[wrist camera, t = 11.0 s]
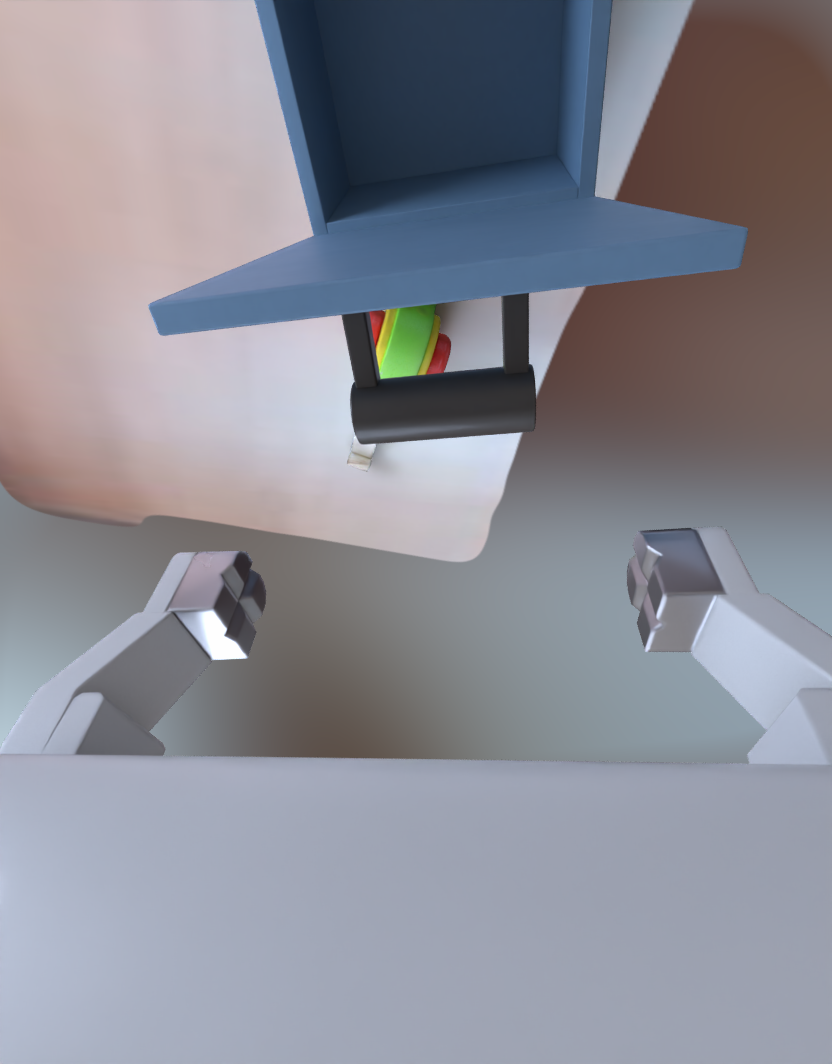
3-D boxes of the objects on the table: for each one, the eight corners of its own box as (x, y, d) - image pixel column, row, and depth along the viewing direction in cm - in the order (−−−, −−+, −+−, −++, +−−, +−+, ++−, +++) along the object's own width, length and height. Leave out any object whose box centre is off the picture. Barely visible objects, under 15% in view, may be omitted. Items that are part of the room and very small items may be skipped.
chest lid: (145, 304, 13) (216, 483, 16) (750, 227, 11) (703, 449, 14) (311, 236, 26) (333, 340, 29) (596, 195, 24) (588, 312, 27)
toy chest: (256, -220, 22) (175, -311, 16) (596, -316, 20) (655, -464, 14) (342, 199, 33) (315, 242, 27) (567, 165, 31) (594, 203, 25)
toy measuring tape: (477, 269, 35) (479, 307, 31) (389, 471, 49) (382, 519, 44) (390, 231, 34) (379, 265, 29) (324, 450, 47) (309, 496, 43)
